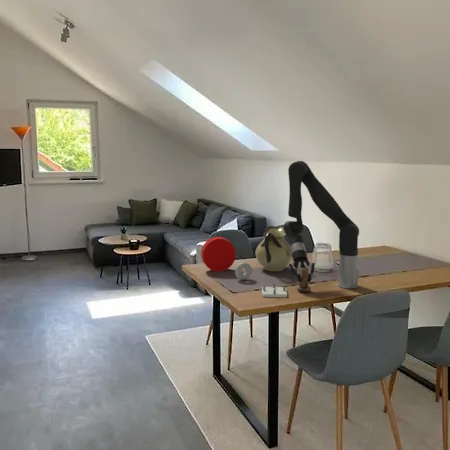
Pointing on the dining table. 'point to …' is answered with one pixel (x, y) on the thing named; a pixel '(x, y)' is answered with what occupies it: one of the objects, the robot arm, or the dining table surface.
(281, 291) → the locating plate
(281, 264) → the tied beige sack
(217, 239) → the red round disc
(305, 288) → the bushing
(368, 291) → the dining table surface
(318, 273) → the dining table surface
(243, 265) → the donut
